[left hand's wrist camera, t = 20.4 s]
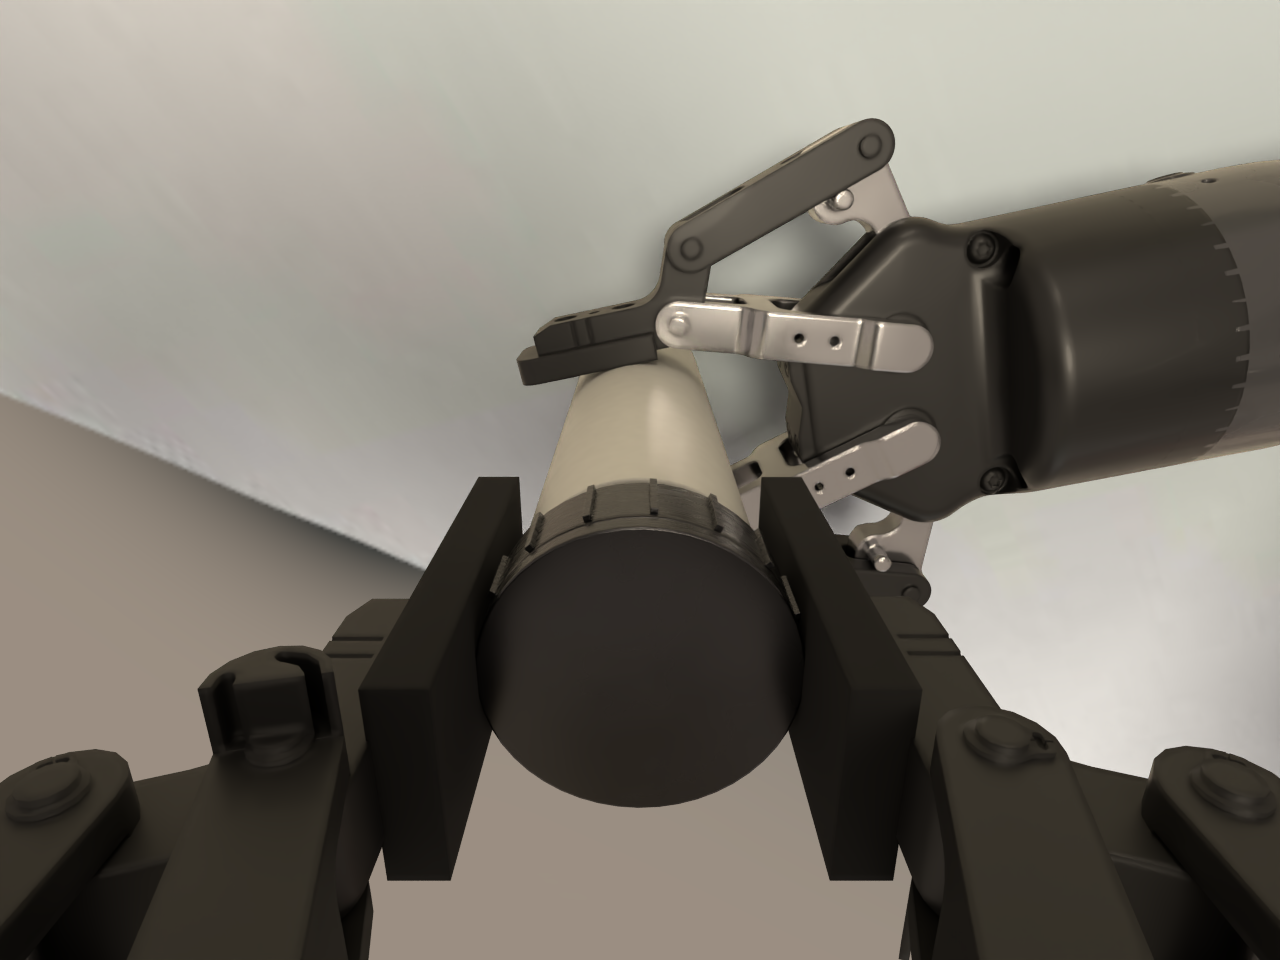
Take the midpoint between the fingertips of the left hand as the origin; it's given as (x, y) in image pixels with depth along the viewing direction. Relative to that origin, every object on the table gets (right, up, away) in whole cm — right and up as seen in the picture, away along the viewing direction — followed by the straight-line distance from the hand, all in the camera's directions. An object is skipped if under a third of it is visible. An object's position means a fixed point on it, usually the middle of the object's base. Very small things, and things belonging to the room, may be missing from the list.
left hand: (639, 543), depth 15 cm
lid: (0, -1, -4) cm, 4 cm away
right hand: (-3, +2, +7) cm, 8 cm away
